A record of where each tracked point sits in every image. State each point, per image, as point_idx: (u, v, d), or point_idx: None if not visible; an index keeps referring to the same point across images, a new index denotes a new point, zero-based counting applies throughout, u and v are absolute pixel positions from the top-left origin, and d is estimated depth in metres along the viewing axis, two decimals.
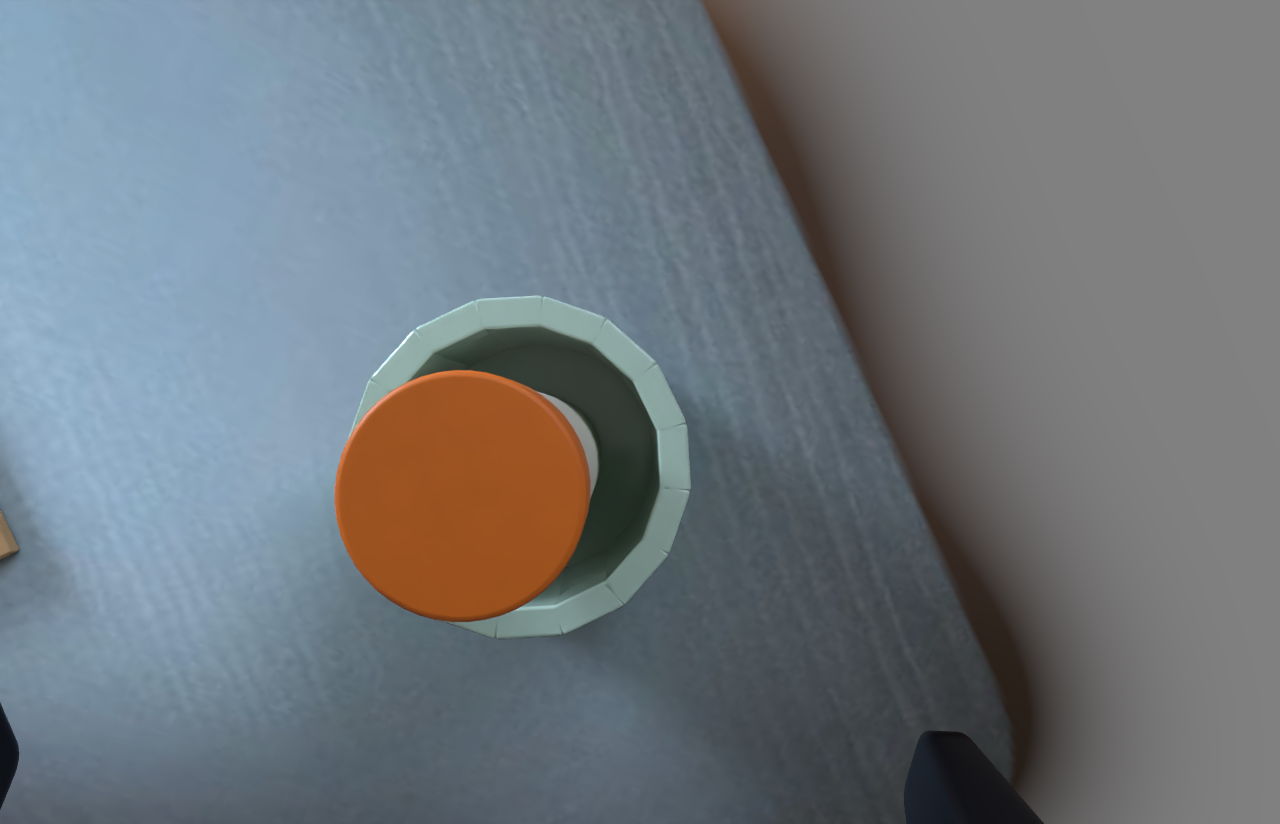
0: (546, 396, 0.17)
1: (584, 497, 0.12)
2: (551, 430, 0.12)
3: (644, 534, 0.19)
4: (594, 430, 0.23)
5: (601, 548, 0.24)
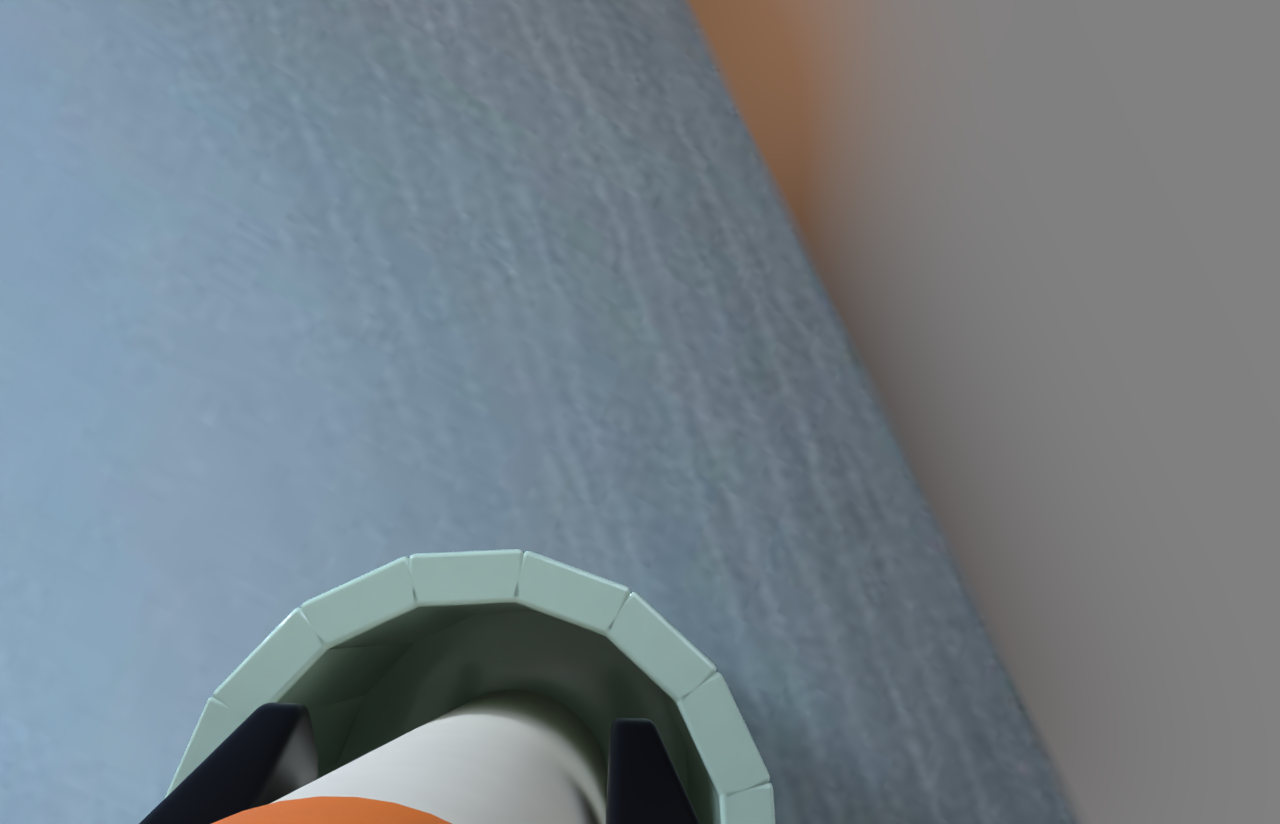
0: (518, 764, 0.08)
1: None
2: None
3: None
4: (599, 753, 0.15)
5: None
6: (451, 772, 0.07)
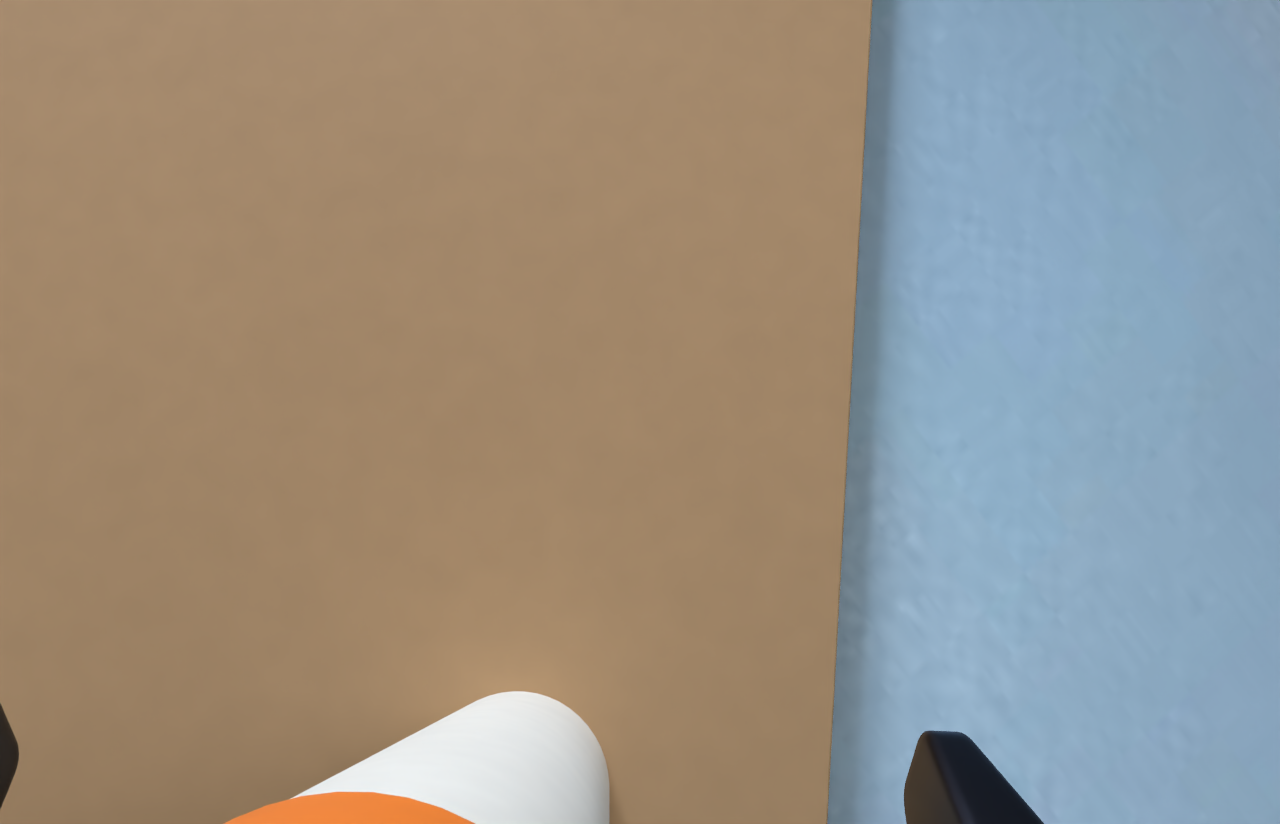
0: (522, 763, 0.09)
1: None
2: None
3: None
4: (600, 753, 0.15)
5: None
6: (459, 770, 0.07)
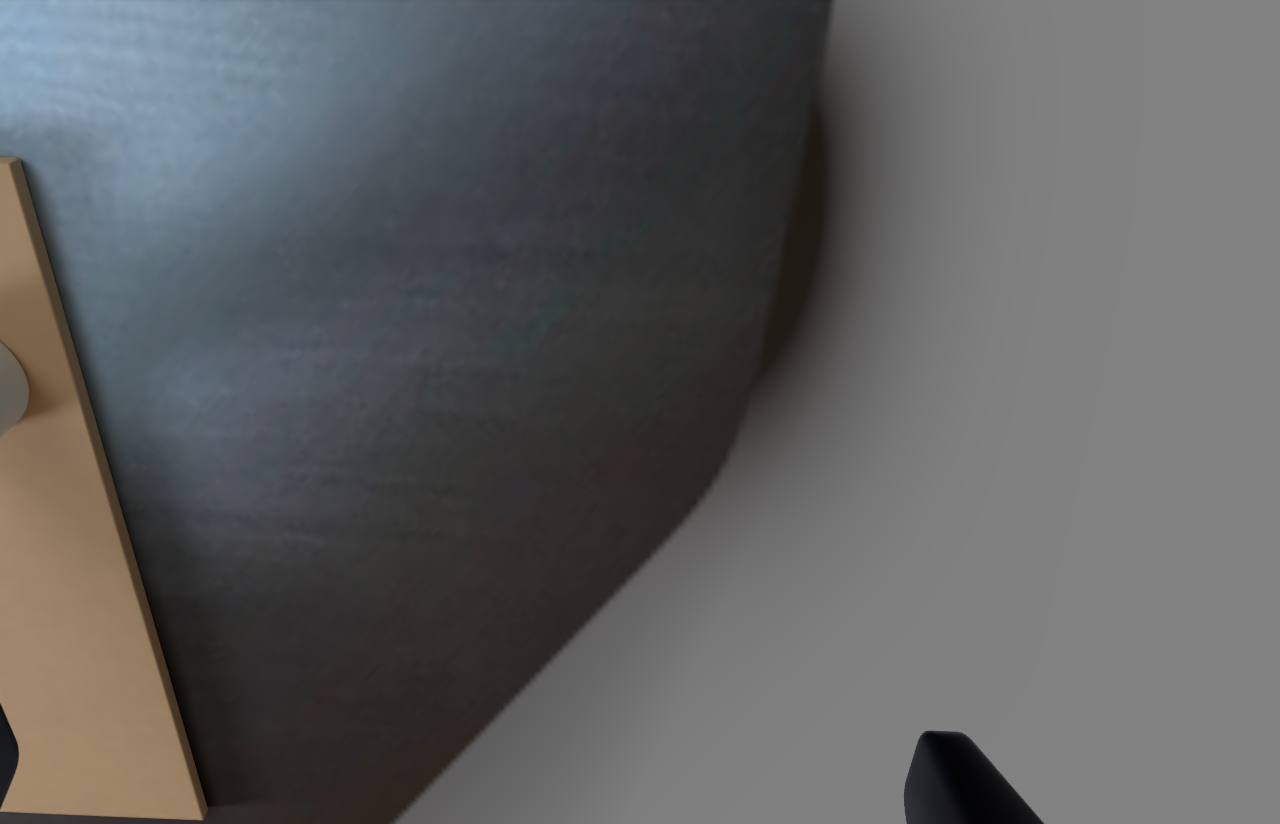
0: None
1: None
2: None
3: None
4: None
5: None
6: None
